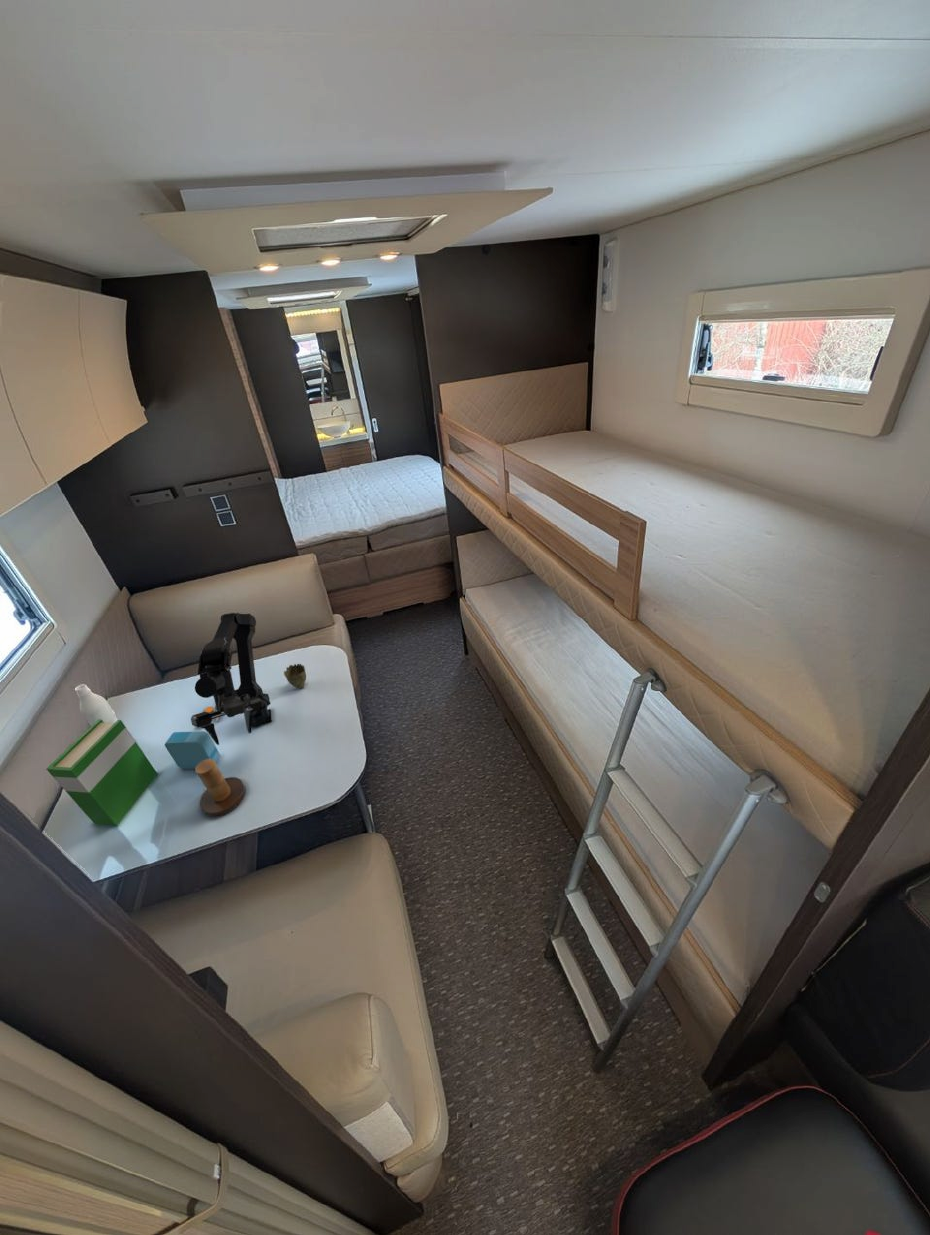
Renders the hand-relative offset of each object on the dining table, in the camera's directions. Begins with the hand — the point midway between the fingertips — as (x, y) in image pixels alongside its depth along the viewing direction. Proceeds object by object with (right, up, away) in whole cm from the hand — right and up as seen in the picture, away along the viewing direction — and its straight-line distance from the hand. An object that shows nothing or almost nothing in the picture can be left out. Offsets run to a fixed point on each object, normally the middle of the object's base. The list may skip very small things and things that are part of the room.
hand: (234, 738), depth 142 cm
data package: (-16, -10, +10) cm, 21 cm away
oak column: (-2, -15, -4) cm, 16 cm away
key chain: (-21, +1, +28) cm, 35 cm away
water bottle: (-50, -7, +21) cm, 54 cm away
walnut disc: (-2, -17, -2) cm, 17 cm away
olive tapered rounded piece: (+7, +10, +37) cm, 39 cm away
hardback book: (-32, -18, +1) cm, 37 cm away
